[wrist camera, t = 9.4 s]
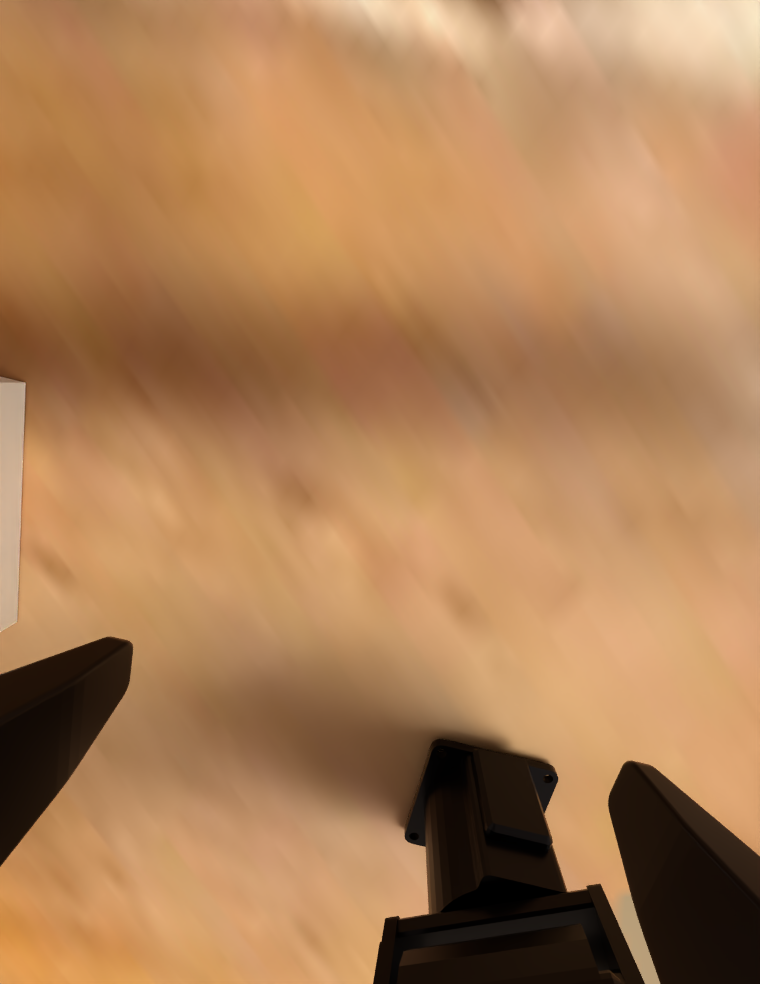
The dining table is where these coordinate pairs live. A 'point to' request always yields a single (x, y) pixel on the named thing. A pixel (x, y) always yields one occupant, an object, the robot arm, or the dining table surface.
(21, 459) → the slab
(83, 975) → the dining table surface
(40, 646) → the dining table surface
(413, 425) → the dining table surface
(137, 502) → the dining table surface
